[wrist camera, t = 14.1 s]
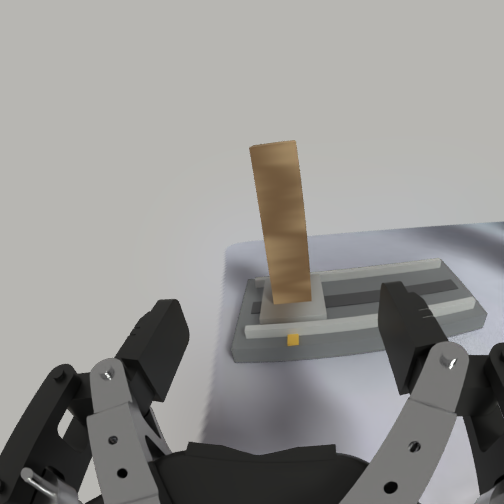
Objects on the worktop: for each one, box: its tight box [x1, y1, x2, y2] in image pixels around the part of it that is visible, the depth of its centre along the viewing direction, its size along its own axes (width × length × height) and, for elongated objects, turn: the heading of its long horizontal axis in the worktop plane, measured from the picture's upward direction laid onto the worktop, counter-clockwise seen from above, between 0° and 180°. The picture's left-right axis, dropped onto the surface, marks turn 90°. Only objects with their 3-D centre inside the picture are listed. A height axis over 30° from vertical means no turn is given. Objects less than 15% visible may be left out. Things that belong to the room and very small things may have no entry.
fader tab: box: [249, 140, 327, 325], centre depth 21 cm, size 5×6×13 cm
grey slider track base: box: [231, 258, 487, 363], centre depth 22 cm, size 21×10×2 cm, turn 84°
